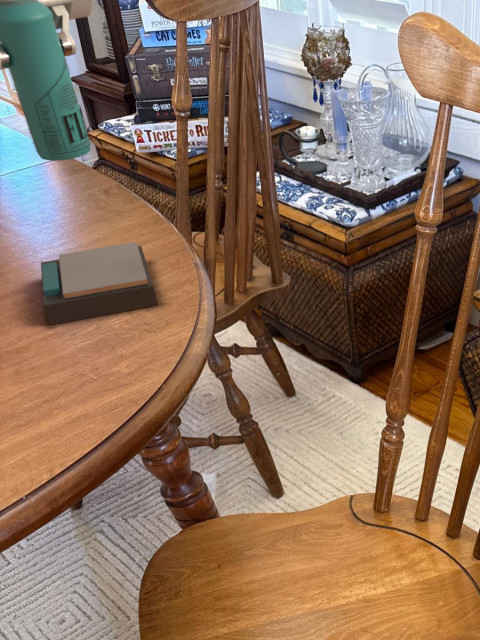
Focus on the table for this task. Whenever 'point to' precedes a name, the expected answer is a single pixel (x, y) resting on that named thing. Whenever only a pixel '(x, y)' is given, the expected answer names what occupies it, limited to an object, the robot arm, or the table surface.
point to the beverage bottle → (42, 80)
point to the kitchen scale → (96, 283)
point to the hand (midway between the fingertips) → (38, 58)
